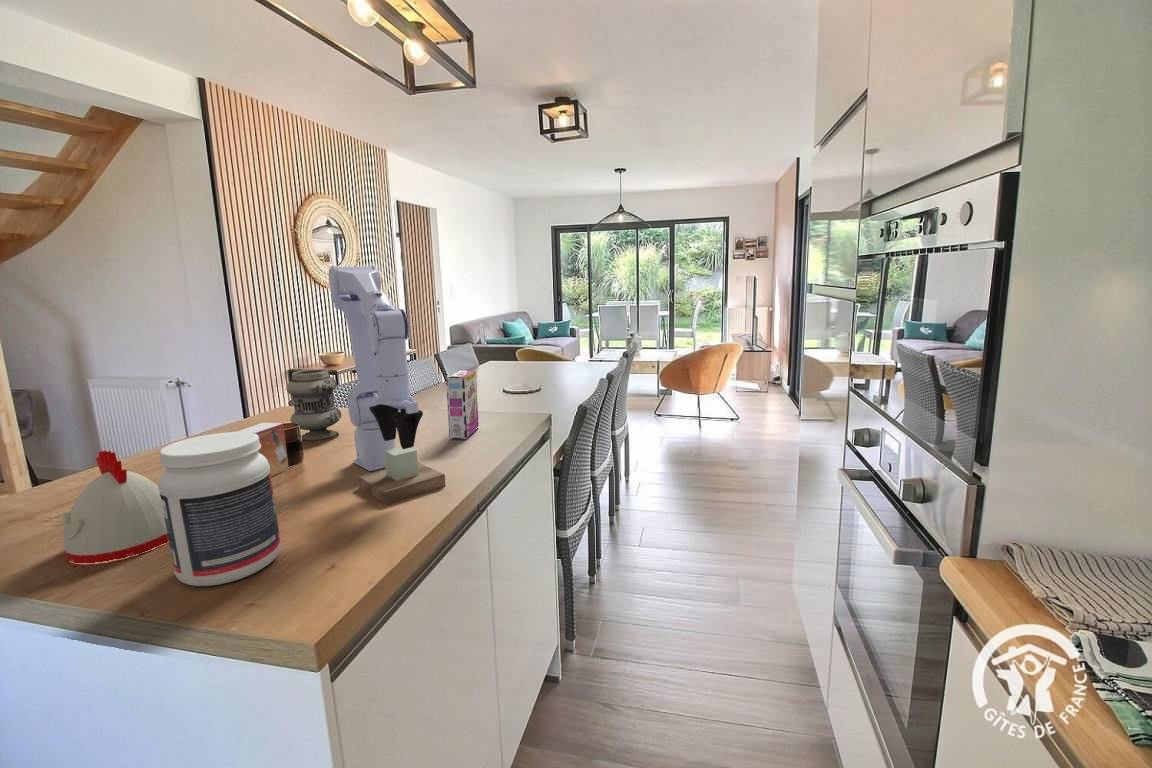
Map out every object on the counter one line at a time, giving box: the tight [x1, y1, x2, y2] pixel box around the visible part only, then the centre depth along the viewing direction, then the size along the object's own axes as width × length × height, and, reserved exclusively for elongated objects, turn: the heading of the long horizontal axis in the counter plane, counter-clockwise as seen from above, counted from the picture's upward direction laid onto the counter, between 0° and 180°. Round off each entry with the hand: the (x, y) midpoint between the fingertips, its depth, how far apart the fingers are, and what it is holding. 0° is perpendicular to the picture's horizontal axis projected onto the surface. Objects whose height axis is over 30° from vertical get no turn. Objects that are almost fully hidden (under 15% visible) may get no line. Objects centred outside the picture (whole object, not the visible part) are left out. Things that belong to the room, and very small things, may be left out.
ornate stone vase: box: [286, 368, 342, 444], centre depth 138 cm, size 12×12×18 cm
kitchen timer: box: [62, 449, 169, 563], centre depth 82 cm, size 14×14×15 cm
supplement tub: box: [157, 431, 282, 587], centre depth 73 cm, size 13×13×18 cm
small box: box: [234, 422, 289, 478], centre depth 111 cm, size 8×6×10 cm
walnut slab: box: [358, 462, 446, 506], centre depth 103 cm, size 12×12×3 cm
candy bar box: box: [445, 369, 479, 440], centre depth 138 cm, size 11×5×16 cm, turn 174°
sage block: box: [384, 446, 419, 481], centre depth 103 cm, size 4×4×5 cm
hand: (398, 443), depth 102 cm, fingers open, 7 cm apart
